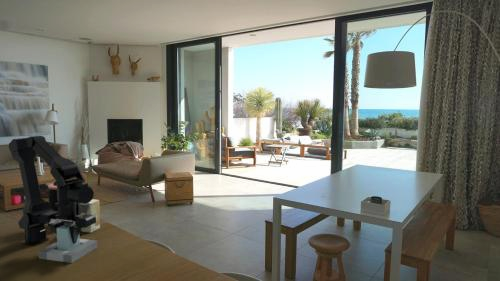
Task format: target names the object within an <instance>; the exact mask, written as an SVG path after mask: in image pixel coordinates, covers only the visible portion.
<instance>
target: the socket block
mask: <svg viewBox="0 0 500 281" xmlns="http://www.w3.org/2000/svg"><path fill="white" fill-rule="evenodd" d="M97 248H98V240H94V239H86V238H80V245H79V246H78V247H76V248H74V249H72V250H71V251H63V250H57V241H56V242H53V244H50V245H48V246H46V247H44V248H42V249H41V250H39V251H38V253H37V254H38V259H41V260H47V261H48V260H49V261H54V262H62V263H68V264H73V263H74V262H76V261H78V260H79V259H81V258H83V257H84V256H85V255H87V254H89V253H90V252H92V251H93V250H96V249H97Z"/></svg>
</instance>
